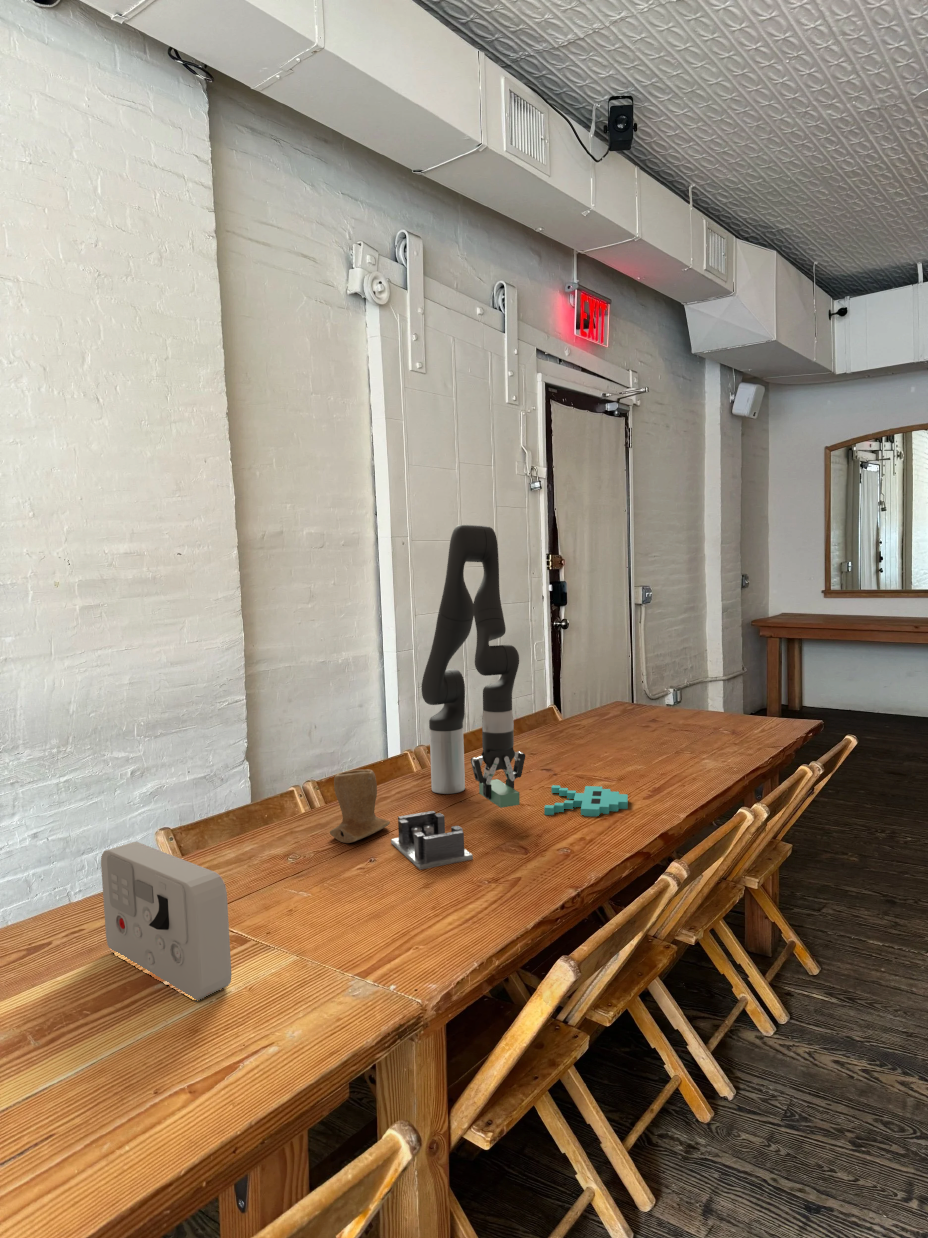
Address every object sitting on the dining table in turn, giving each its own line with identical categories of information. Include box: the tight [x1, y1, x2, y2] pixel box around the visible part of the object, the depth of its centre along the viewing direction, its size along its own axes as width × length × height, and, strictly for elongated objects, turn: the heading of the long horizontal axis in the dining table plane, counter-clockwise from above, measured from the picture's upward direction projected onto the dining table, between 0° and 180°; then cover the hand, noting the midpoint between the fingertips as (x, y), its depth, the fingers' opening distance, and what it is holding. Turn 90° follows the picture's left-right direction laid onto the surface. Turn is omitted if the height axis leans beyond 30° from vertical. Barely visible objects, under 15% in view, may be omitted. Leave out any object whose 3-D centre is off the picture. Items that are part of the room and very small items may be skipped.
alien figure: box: [543, 784, 629, 817], centre depth 213 cm, size 20×2×20 cm
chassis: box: [390, 810, 474, 870], centre depth 182 cm, size 18×12×6 cm, turn 24°
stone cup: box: [329, 768, 391, 844], centre depth 195 cm, size 15×12×15 cm
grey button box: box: [100, 841, 232, 1001], centre depth 131 cm, size 29×8×18 cm, turn 50°
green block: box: [478, 778, 521, 809], centre depth 201 cm, size 12×5×3 cm, turn 23°
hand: (498, 796), depth 202 cm, fingers closed on green block, 5 cm apart
